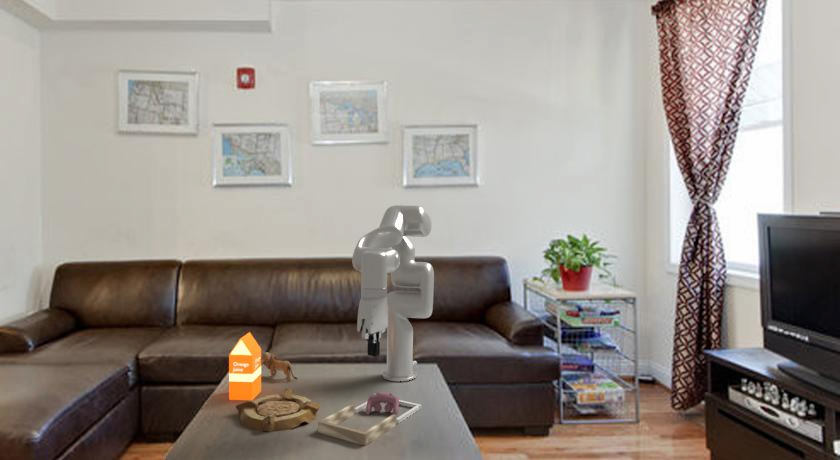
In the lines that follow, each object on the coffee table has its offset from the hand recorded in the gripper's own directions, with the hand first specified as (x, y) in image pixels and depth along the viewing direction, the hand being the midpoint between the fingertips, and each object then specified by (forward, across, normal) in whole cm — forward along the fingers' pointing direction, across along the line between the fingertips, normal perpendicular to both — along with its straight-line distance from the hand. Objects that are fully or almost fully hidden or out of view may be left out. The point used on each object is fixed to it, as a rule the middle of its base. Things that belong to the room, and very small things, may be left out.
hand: (373, 355), depth 160 cm
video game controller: (+20, -6, 0) cm, 20 cm away
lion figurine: (+20, -13, -50) cm, 55 cm away
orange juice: (+19, +6, -47) cm, 51 cm away
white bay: (+19, -7, 0) cm, 21 cm away
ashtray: (+20, +12, -26) cm, 35 cm away
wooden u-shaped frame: (+19, +9, 0) cm, 21 cm away
